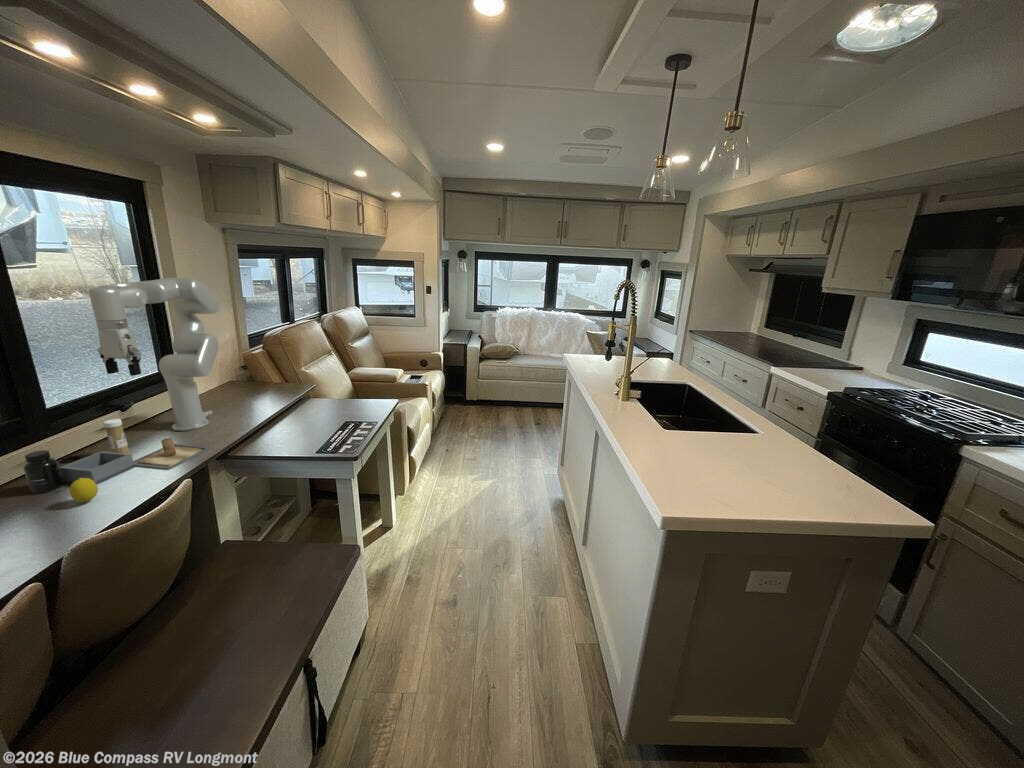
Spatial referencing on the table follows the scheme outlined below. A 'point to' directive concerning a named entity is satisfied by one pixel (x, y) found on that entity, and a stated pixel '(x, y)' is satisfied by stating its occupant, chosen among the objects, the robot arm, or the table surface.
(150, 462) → the lid
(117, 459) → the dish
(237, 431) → the table surface
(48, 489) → the supplement bottle
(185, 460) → the picture frame
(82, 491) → the lemon
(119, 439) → the sprinkles bottle
